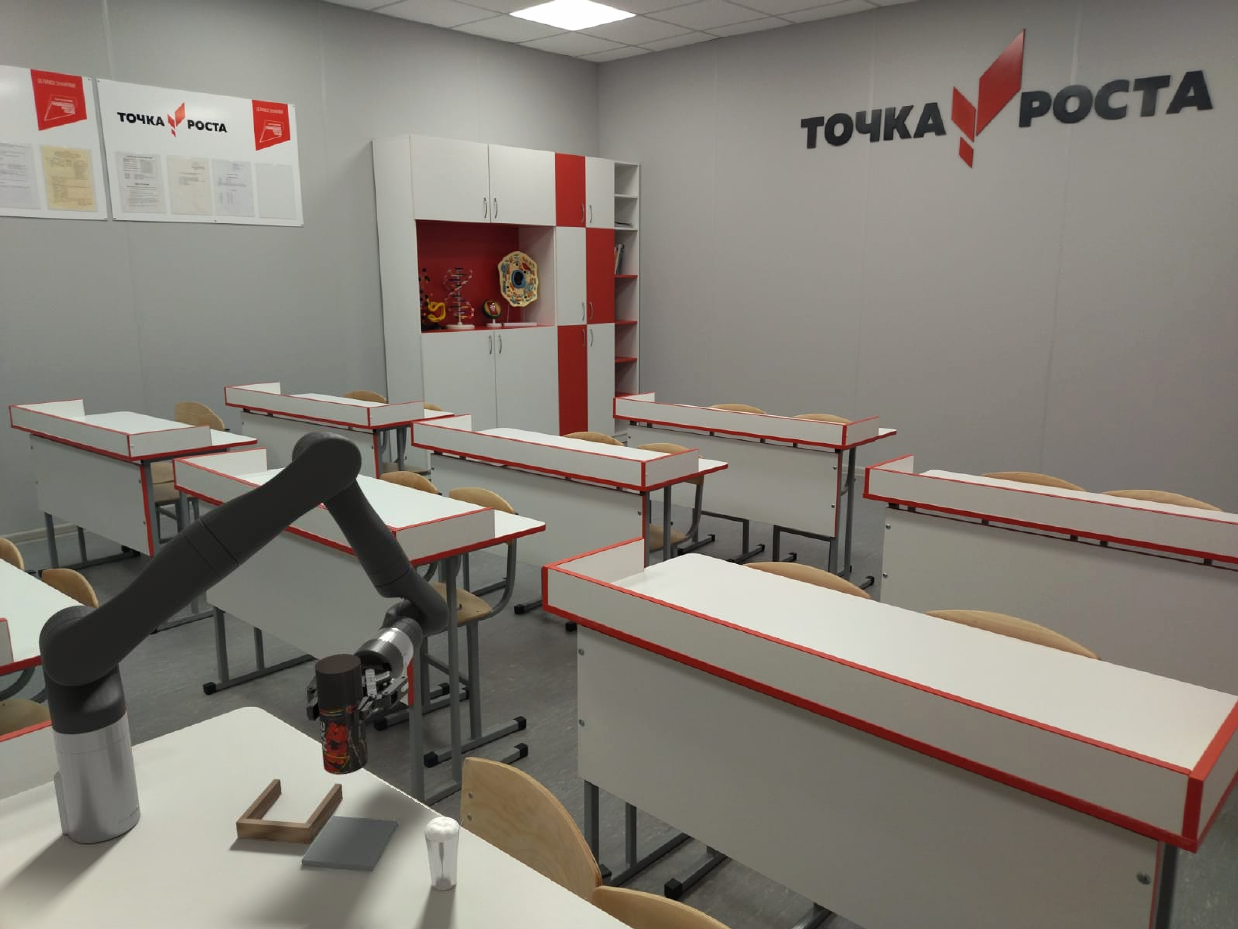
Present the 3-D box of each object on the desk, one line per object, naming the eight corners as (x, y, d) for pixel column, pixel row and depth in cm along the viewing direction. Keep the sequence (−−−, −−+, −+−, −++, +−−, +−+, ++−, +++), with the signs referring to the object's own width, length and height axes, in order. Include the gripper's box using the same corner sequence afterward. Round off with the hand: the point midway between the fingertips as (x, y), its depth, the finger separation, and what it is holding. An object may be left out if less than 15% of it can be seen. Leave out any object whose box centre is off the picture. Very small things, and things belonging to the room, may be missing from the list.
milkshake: (460, 897, 115) (456, 830, 113) (421, 891, 116) (417, 824, 114) (472, 874, 120) (469, 809, 117) (435, 869, 121) (432, 804, 118)
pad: (301, 865, 121) (301, 860, 121) (333, 820, 131) (333, 815, 131) (371, 871, 120) (371, 866, 120) (398, 825, 130) (397, 821, 130)
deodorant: (377, 758, 124) (369, 660, 120) (344, 779, 119) (336, 677, 115) (346, 746, 127) (339, 650, 123) (314, 767, 122) (305, 667, 118)
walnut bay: (237, 837, 127) (235, 822, 127) (275, 793, 138) (274, 779, 137) (310, 843, 126) (308, 828, 125) (342, 798, 136) (341, 784, 136)
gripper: (334, 635, 135) (280, 687, 118) (425, 640, 133) (383, 694, 117) (338, 680, 136) (285, 738, 120) (427, 685, 135) (386, 745, 118)
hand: (333, 716), depth 118 cm, fingers closed on deodorant, 6 cm apart
